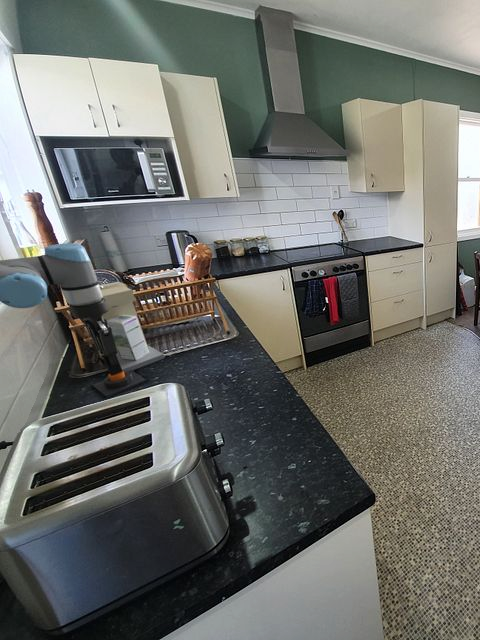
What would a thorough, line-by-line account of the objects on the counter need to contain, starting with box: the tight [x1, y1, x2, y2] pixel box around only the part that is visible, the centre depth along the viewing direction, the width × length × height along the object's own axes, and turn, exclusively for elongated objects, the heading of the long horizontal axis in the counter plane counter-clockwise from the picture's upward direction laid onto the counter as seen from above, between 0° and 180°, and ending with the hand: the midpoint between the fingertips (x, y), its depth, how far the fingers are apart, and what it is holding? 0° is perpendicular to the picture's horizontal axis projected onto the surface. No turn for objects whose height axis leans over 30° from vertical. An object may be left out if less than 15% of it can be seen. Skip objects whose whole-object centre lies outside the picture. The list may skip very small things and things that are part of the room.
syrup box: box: [107, 315, 149, 360], centre depth 116 cm, size 6×6×14 cm
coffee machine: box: [83, 281, 165, 372], centre depth 116 cm, size 12×18×25 cm, turn 58°
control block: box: [92, 370, 147, 399], centre depth 106 cm, size 10×10×3 cm
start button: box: [107, 371, 125, 381], centre depth 106 cm, size 4×4×2 cm
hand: (116, 372), depth 105 cm, fingers closed
